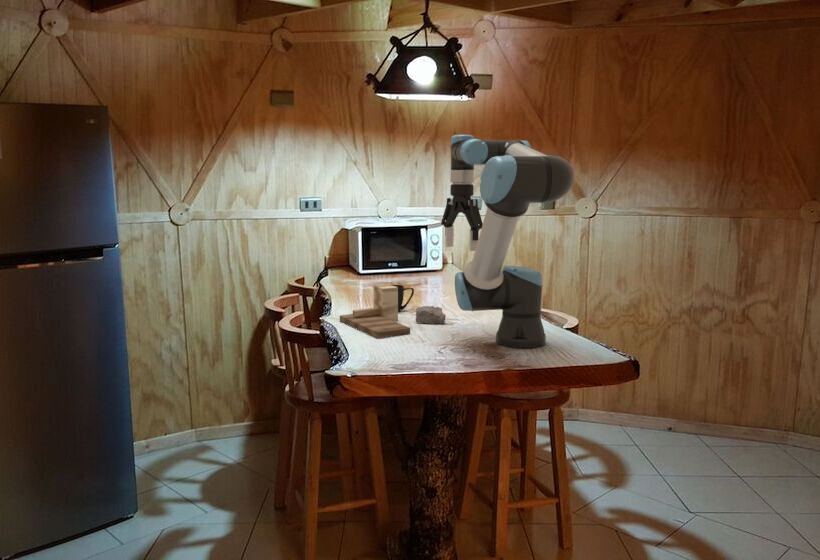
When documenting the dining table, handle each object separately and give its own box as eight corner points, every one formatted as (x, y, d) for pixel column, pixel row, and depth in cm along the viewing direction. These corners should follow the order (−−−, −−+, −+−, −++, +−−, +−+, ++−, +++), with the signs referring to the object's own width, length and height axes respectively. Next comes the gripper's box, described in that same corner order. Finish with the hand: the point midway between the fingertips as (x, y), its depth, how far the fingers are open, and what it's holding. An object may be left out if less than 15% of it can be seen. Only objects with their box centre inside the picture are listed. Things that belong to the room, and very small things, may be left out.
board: (410, 333, 202) (410, 327, 201) (377, 338, 195) (377, 332, 195) (370, 317, 225) (370, 311, 225) (339, 321, 219) (339, 315, 219)
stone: (419, 326, 212) (419, 309, 211) (413, 321, 220) (413, 304, 219) (447, 324, 215) (447, 308, 214) (440, 319, 223) (440, 303, 222)
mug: (414, 313, 232) (414, 288, 231) (382, 313, 231) (382, 288, 230) (413, 308, 240) (413, 284, 239) (381, 308, 239) (381, 284, 238)
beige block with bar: (397, 320, 220) (397, 287, 218) (358, 325, 212) (358, 291, 210) (388, 316, 226) (388, 284, 224) (349, 321, 218) (349, 288, 216)
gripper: (495, 184, 194) (493, 251, 198) (449, 183, 215) (448, 244, 219) (476, 184, 190) (474, 253, 194) (431, 183, 211) (430, 245, 215)
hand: (461, 248), depth 206 cm, fingers open, 13 cm apart
